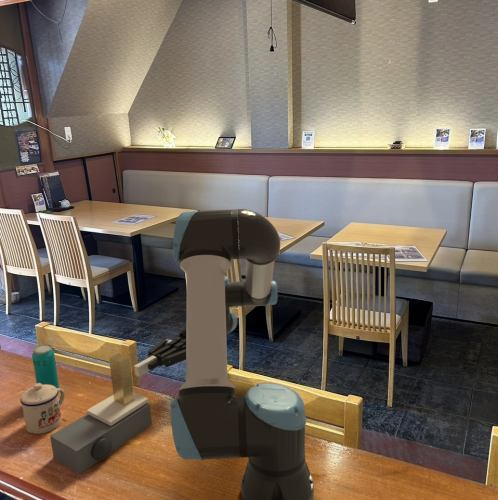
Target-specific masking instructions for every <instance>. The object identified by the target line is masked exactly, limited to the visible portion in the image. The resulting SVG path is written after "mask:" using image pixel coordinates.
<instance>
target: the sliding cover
mask: <svg viewBox="0 0 498 500" xmlns="http://www.w3.org/2000/svg"><path fill="white" fill-rule="evenodd" d="M108 360H109V368H110V377H111V384H112V386H111V387H112V395H111V396H109V397H107V398H105V399H103V400H102V401H100V402H98V403H96V404H95V405H93V406H91V407H90V408H88V409H86V414H88V415H90V416H92V417H94V418H96V419H98V420H100V421H102V422H104V423H106V424H108V425H110V426H112V425H113V424H115V423H116V422H118V421H119V420H121V419H123V418H124V417H126V416H127V415H129V414H130V413H132V412H134V411H135V410H137V409H138V408H140V407H141V406H143V405H144V404H146V403H149V398H147V397H145V396H143V395H141V394H139V393H136V392H134V390H133V381H132V380H133V379H132V378H133V377H132V369H131V359H130V357H129V356H126V355H123V354H121V353H116V354H114V355H112V356H110V357H109V358H108Z"/></svg>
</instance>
